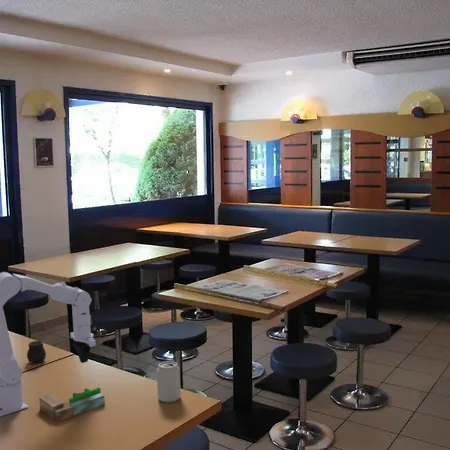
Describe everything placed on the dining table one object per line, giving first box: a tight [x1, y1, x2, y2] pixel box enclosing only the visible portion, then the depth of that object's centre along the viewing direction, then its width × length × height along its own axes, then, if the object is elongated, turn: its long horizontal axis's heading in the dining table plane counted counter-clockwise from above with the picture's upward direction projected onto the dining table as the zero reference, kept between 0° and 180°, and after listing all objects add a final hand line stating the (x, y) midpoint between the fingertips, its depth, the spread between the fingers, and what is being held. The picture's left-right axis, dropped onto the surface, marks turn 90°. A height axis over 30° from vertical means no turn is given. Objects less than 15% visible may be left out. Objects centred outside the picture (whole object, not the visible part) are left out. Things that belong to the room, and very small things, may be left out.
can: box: [156, 360, 182, 404], centre depth 180 cm, size 8×8×12 cm
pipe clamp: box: [68, 387, 102, 405], centre depth 178 cm, size 11×4×5 cm, turn 139°
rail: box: [54, 393, 106, 422], centre depth 173 cm, size 16×3×3 cm, turn 132°
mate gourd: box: [26, 339, 47, 365], centre depth 219 cm, size 7×8×10 cm
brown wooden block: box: [39, 393, 65, 420], centre depth 173 cm, size 4×10×4 cm, turn 42°
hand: (84, 361), depth 191 cm, fingers closed
